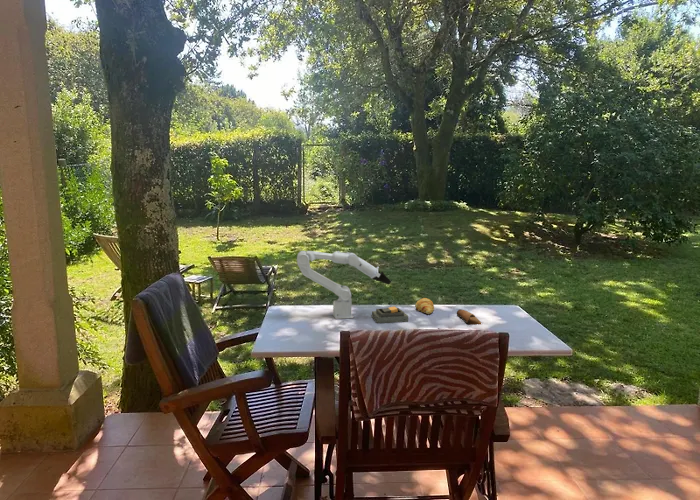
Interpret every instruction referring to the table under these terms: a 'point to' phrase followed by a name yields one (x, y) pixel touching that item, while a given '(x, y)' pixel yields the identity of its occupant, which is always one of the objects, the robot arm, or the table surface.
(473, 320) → the brown pointed cylinder
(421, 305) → the croissant
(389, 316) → the breaker box
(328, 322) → the table surface
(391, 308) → the breaker switch
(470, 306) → the table surface
